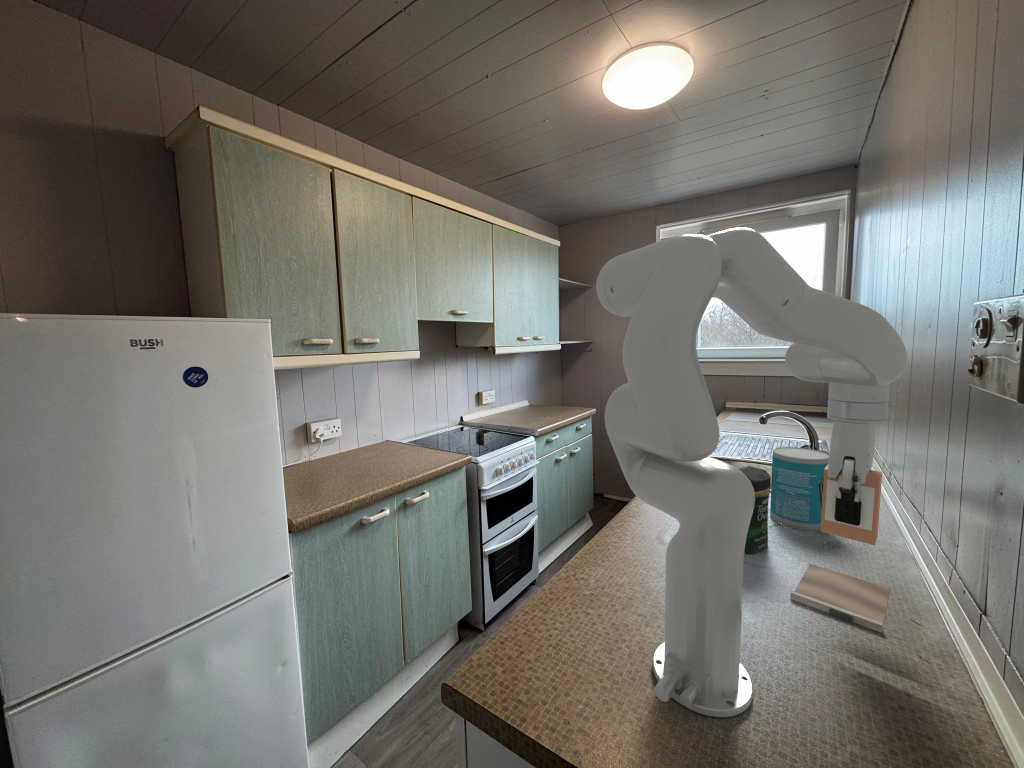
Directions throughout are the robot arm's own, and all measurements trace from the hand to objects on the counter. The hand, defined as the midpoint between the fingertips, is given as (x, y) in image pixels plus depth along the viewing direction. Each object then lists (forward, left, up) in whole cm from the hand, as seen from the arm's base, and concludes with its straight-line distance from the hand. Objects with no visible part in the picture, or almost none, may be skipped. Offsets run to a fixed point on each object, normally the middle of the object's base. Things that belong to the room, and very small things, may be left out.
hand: (849, 516), depth 68 cm
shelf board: (+4, +1, -17) cm, 17 cm away
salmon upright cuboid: (0, 0, -3) cm, 3 cm away
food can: (+37, +14, -17) cm, 43 cm away
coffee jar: (+12, +19, -17) cm, 28 cm away
